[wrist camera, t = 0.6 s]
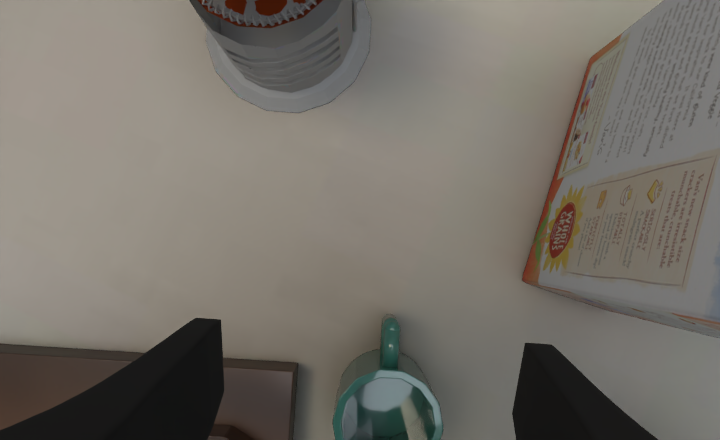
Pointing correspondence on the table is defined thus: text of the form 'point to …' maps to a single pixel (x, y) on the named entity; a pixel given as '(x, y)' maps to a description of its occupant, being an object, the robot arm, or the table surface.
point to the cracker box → (642, 177)
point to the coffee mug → (386, 395)
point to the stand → (89, 367)
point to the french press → (286, 48)
